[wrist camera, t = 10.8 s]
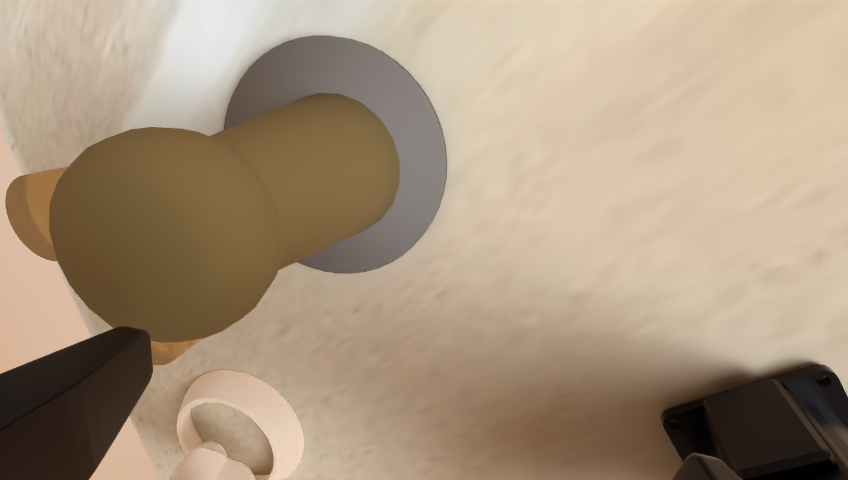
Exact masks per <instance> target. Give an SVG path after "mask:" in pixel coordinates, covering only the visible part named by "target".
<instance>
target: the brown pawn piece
mask: <svg viewBox="0 0 848 480" xmlns="http://www.w3.org/2000/svg"><path fill="white" fill-rule="evenodd" d="M399 184H400V160H399V157H398V153H397V150H396V147H395V143H394V140H393V137H392V136H391V134H390V133H389V131H388V130H387V128H386V127H385V125H384V124H383V122H382V121H381V119H380V118H379V117H378V116H377V115H376V114H375V113H373V112H372V111H371V110H370V109H369V108H367V107H366V106H365V105H364V104H362V103H361V102H359V101H357V100H354V99H352V98H349V97H346V96H344V95H341V94H331V93H316V94H313V95H310V96H308V97H305V98H302V99H299V100H296V101H294V102H291V103H289V104H286V105H284V106H282V107H279V108H277V109H274V110H272V111H269V112H267V113H265V114H262V115H260V116H257V117H255V118H253V119H250V120H248V121H245V122H243V123H240V124H238V125H236V126H233V127H231V128H228V129H226V130H223V131H221V132H219V133H216V134H214V135H211V136H209V137H208V136H206V135H204V134H201V133H199V132H194V131H189V130H184V129H174V128H156V127H149V128H140V129H132V130H129V131H126V132H123V133H120V134H118V135H115V136H112V137H109V138H107V139H104V140H102V141H100V142H98V143H96V144H94V145H92V146H90V147H88V148H86V149H85V150H84V151H83V152H82V153H81V155H80V156H79V157H78V158H77V159H76V160H75V161H74V162H73V163H72V164H71V165H70V166H69V167H68V168H67V169H66V171H65V172H64V173H63V175H62V176H61V177H60V178H59V180H58V182H57V184H56V187H55V190H54V193H53V195H52V198H51V201H50V203H49V232H50V236H51V240H52V244H53V248H54V252H55V255H56V259H57V261H58V263H59V265H60V267H61V269H62V270H63V272H64V274H65V276H66V278H67V280H68V282H69V284H70V286H71V287H72V288H73V289H74V291H75V292H76V293H77V294H78V295H79V297H80V298H81V299H82V300H83V302H84V303H85V304H86V305H87V306H88V308H89V309H91V310H92V311H93V312H94V313H96V314H97V315H98V316H99V317H100V318H102V319H103V320H104V321H105V322H107V323H108V324H109V325H110V326H112V327H114V328H117V327H120V326H128V327H133V328H137V329H142V330H145V331H147V332H148V333H149V335H150V338H151V341H155V342H161V343H179V342H185V341H191V340H197V339H203V338H206V337H208V336H211V335H213V334H216V333H218V332H221V331H222V330H224V329H226V328H227V327H229V326H230V325H232V324H234V323H235V322H237V321H238V320H240V319H241V318H243V317H244V316H245V315H246V314H248V313H249V312H250V311H251V310H252V309H254V308H255V307H256V305H257V304H258V302H259V301H260V299H261V298H262V296H263V295H264V294H265V292H266V291H267V289H268V288H269V286H270V285H271V283H272V281H273V280H274V278H275V276H276V275H277V272H278V270H279V269H282V268H284V267H286V266H288V265H290V264H293V263H295V262H297V261H299V260H301V259H303V258H306V257H308V256H310V255H312V254H314V253H317V252H319V251H321V250H323V249H325V248H328V247H330V246H332V245H334V244H336V243H338V242H341V241H343V240H345V239H347V238H349V237H352V236H354V235H356V234H358V233H360V232H362V231H364V230H366V229H368V228H369V227H371V226H372V225H374V224H375V223H377V222H379V221H380V220H381V219H382V218H383V216H384V215H385V214H386V212H387V211H388V210H389V208H390V207H391V206H392V205H393V202H394V199H395V196H396V193H397V190H398V187H399Z"/></svg>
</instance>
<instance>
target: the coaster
mask: <svg viewBox="0 0 848 480" xmlns="http://www.w3.org/2000/svg"><path fill="white" fill-rule="evenodd" d="M316 93H331V94H341V95H344V96H346V97H349V98H352V99H354V100H357V101H359V102H361V103H362V104H364V105H365V106H366V107H367V108H369V109H370V110H371V111H372V112H373V113H375V114H376V115H377V116H378V117H379V118H380V119H381V121H382V122H383V124H384V125H385V127H386V128H387V130H388V131H389V133H390V134H391V136H392V137H393V140H394V143H395V147H396V150H397V153H398V157H399V160H400V184H399V187H398V190H397V193H396V196H395V199H394V202H393V205H392V206H391V207H390V208H389V210H388V211H387V212H386V214H385V215H384V216H383V218H382V219H381V220H380V221H379V222H377V223H375V224H374V225H372V226H371V227H369V228H368V229H366V230H364V231H362V232H360V233H358V234H356V235H354V236H352V237H349V238H347V239H345V240H343V241H341V242H338V243H336V244H334V245H332V246H330V247H328V248H325V249H323V250H321V251H319V252H317V253H314V254H312V255H310V256H308V257H306V258H303V259H301V260H299V261H297V262H299V263H301V264H303V265H306V266H308V267H311V268H314V269H318V270H322V271H326V272H333V273H359V272H366V271H370V270H373V269H377V268H380V267H382V266H384V265H387V264H389V263H391V262H393V261H394V260H396V259H397V258H399V257H401V256H402V255H403V254H405V253H406V252H407V251H408V250H409V249H411V248H412V247H413V246H414V245H415V243H416V242H417V241H418V240H419V239H420V238H421V237H422V236H423V234H424V233H425V232H426V230H427V229H428V227H429V226H430V224H431V223H432V221H433V219H434V217H435V215H436V213H437V211H438V209H439V206H440V203H441V200H442V197H443V194H444V189H445V183H446V176H447V156H446V145H445V141H444V136H443V131H442V128H441V125H440V122H439V119H438V117H437V114H436V112H435V110H434V108H433V106H432V104H431V102H430V100H429V98H428V97H427V95H426V94H425V92H424V91H423V89H422V88H421V86H420V85H419V83H418V82H417V81H416V80H415V79H414V78H413V77H412V75H411V74H410V73H409V72H408V71H407V70H406V69H405V68H403V67H402V66H401V65H400V64H399V63H398V62H397V61H395V60H394V59H392V58H391V57H389V56H388V55H386V54H385V53H383V52H382V51H380V50H378V49H376V48H374V47H372V46H370V45H368V44H365V43H362V42H358V41H355V40H352V39H346V38H340V37H334V36H309V37H302V38H298V39H294V40H291V41H288V42H285V43H283V44H281V45H279V46H277V47H275V48H273V49H271V50H270V51H268V52H267V53H266V54H264V55H263V56H261V57H260V58H259V59H258V60H257V61H256V62H255V63H254V64H253V65H252V66H251V67H250V68H249V69H248V70H247V72H246V73H245V74H244V76H243V77H242V78H241V80H240V82H239V84H238V85H237V87H236V89H235V91H234V93H233V95H232V98H231V101H230V103H229V106H228V110H227V114H226V118H225V125H224V130H226V129H228V128H231V127H233V126H236V125H238V124H240V123H243V122H245V121H248V120H250V119H253V118H255V117H257V116H260V115H262V114H265V113H267V112H269V111H272V110H274V109H277V108H279V107H282V106H284V105H286V104H289V103H291V102H294V101H296V100H299V99H302V98H305V97H308V96H310V95H313V94H316Z"/></svg>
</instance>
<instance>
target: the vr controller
mask: <svg viewBox="0 0 848 480" xmlns="http://www.w3.org/2000/svg"><path fill="white" fill-rule="evenodd" d="M209 402H211V403H221V404H225V405H228V406H231V407H233V408H236V409H237V410H239V411H241V412H242V413H244V414H246V415H247V416H248V417H249V418H251V419H252V420H253V421H254V422H255V423H256V424H257V425H258V426H259V427H260V428H261V429H262V431H263V432H264V434H265V435H266V436H267V438H268V440H269V443H270V445H271V448H272V451H273V459H274V463H273V469H272V471H271V473H270V475H253V473H252V471H251V470H250V469H249V467H248V466H246V465H245V464H243V463H240V462H238V461H235V460H232V459H229V458H227V454H226V451H225V450H224V448H223V447H222V446H221V445H219V444H218V443H215V442H205V443H203V441H202V440H201V438H200V437H199V435H198V433H197V431H196V429H195V427H194V424H193V421H192V415H191V409H192V408H193V407H195V406H197V405H199V404H202V403H209ZM176 431H177V438H178V441H179V444H180V447H181V448H182V450H183V452H184V454H185V456H186V457H185V458H184V459H183V461H182V462H181V463H180V464H179V465H178V466H177V468H176V470H175V471H174V473H173V475H172V477H171V478H170V480H282V479H283V478H285V477H286V476H288V475H289V474H290V473H292V471H293V470H294V469H295V468H296V467H297V466H298V464H299V462H300V460H301V458H302V455H303V450H304V436H303V432H302V428H301V425H300V423H299V420H298V418H297V416H296V414H295V413H294V411H293V410H292V408H291V407H290V405H289V404H288V403H287V401H286V400H285V399H284V398H283V397H282V396H281V395H280V394H279V393H278V392H277V391H275V390H274V389H273V388H272V387H270V386H269V385H268V384H266V383H265V382H263V381H261V380H259V379H258V378H256V377H253V376H251V375H248V374H246V373H242V372H238V371H233V370H217V371H212V372H209V373H206V374H204V375H202V376H200V377H199V378H198V379H197V380H195V381H194V382H193V383H192V385H191V386H190V388H189V389H188V391H187V393H186V395H185V397H184V399H183V402H182V404H181V407H180V410H179V414H178V417H177V423H176Z"/></svg>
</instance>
